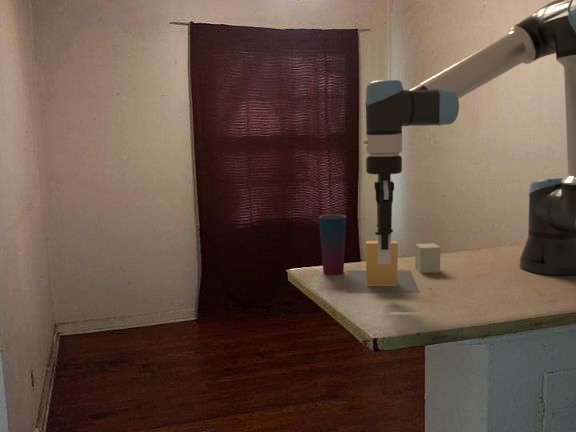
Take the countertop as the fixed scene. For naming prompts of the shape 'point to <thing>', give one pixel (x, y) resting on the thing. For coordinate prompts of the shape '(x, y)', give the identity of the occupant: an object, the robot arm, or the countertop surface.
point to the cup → (333, 243)
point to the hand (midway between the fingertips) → (384, 262)
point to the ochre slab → (380, 266)
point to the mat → (358, 285)
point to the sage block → (427, 258)
